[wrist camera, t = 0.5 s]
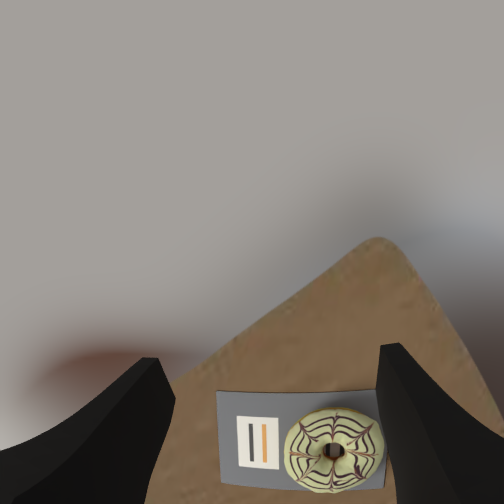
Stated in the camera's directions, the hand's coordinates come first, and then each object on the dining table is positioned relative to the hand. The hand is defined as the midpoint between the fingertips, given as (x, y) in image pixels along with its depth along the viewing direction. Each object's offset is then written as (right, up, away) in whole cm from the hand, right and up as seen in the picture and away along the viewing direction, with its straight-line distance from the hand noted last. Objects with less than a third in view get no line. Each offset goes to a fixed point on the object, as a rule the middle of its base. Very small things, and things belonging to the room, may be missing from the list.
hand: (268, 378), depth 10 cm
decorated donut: (+9, -18, +21) cm, 29 cm away
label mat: (+5, -18, +22) cm, 29 cm away
